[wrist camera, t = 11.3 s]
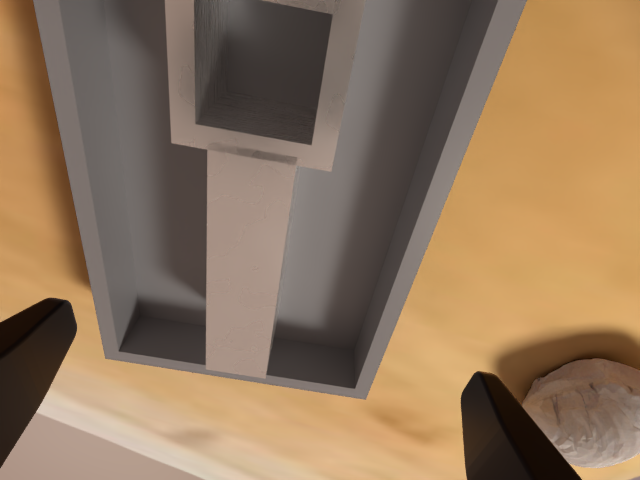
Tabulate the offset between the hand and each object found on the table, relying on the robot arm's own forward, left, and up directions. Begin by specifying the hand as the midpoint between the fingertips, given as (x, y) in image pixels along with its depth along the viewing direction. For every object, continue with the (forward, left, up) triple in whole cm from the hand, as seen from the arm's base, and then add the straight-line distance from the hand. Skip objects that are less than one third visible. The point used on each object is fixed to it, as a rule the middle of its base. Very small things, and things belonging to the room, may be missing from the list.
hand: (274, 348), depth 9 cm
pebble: (-20, -13, -12) cm, 27 cm away
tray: (-1, +3, -11) cm, 12 cm away
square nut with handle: (-1, +2, -11) cm, 11 cm away
